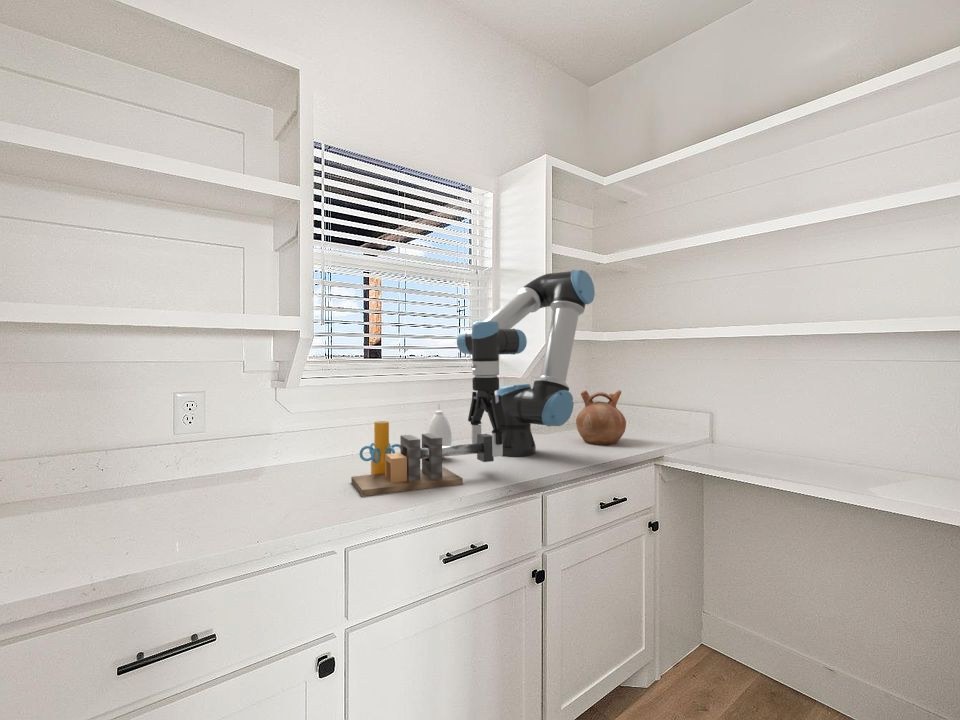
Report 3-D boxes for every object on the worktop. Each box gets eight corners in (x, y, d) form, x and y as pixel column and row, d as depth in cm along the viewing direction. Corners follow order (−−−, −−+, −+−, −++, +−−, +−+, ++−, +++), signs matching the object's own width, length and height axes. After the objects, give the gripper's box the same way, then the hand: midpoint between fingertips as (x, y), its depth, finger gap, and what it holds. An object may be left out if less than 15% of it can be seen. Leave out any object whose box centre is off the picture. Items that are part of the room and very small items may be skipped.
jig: (443, 472, 144) (443, 430, 144) (462, 484, 131) (462, 438, 131) (351, 482, 133) (351, 437, 133) (362, 496, 120) (362, 446, 120)
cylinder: (391, 482, 133) (391, 425, 133) (354, 480, 135) (354, 424, 135) (407, 471, 145) (407, 419, 145) (373, 469, 147) (373, 418, 147)
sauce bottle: (442, 462, 157) (442, 404, 157) (422, 459, 161) (422, 403, 161) (455, 457, 164) (455, 402, 164) (436, 455, 168) (436, 401, 168)
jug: (624, 439, 198) (624, 388, 198) (627, 447, 181) (627, 392, 180) (577, 437, 202) (577, 387, 202) (575, 445, 185) (575, 391, 184)
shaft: (486, 458, 144) (486, 433, 144) (493, 461, 140) (493, 436, 140) (410, 465, 135) (410, 439, 135) (416, 469, 131) (415, 442, 131)
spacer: (400, 475, 135) (399, 452, 135) (407, 480, 129) (406, 457, 129) (385, 476, 133) (385, 454, 133) (391, 482, 127) (391, 458, 127)
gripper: (456, 374, 151) (457, 444, 152) (493, 379, 128) (494, 462, 129) (479, 373, 154) (480, 442, 155) (519, 378, 132) (520, 458, 132)
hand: (486, 451), depth 142 cm, fingers open, 13 cm apart
